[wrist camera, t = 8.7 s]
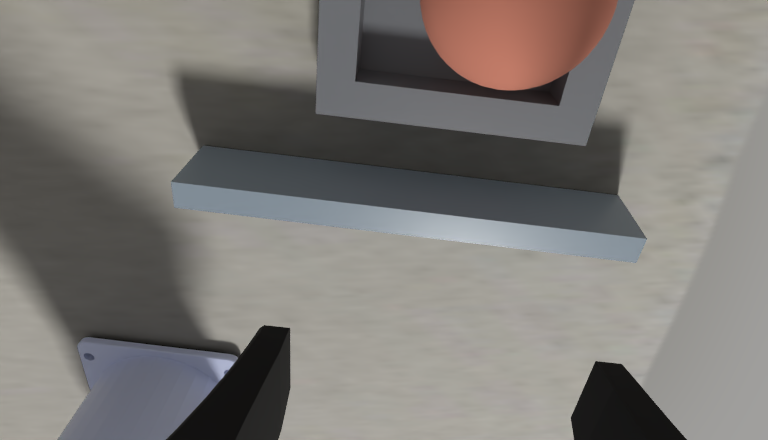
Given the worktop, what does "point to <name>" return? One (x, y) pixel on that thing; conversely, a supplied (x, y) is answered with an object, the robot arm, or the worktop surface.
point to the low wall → (408, 203)
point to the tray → (446, 77)
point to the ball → (515, 37)
